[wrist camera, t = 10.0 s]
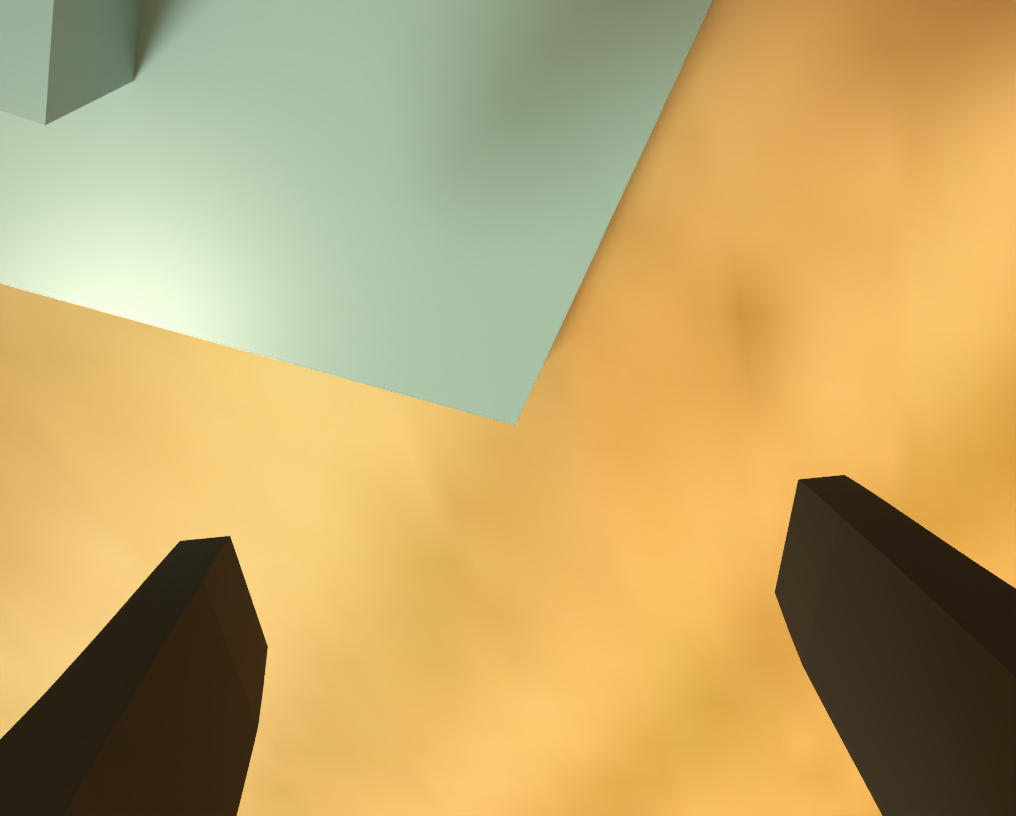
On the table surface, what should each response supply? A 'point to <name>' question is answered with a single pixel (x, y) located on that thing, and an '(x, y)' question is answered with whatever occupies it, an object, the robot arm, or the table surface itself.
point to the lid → (332, 172)
